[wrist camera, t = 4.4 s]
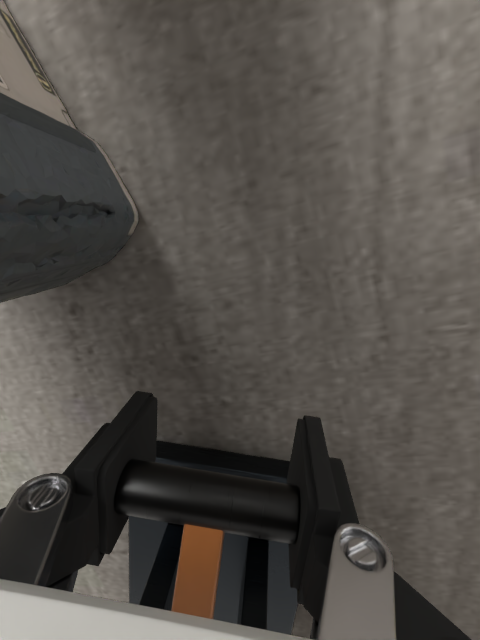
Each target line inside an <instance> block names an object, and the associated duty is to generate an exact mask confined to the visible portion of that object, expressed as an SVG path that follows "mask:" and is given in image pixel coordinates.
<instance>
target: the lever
mask: <svg viewBox="0 0 480 640" xmlns="http://www.w3.org/2000/svg"><path fill="white" fill-rule="evenodd" d="M114 509H115V512H116V513H118V514H122V515H128V516H133V517H139V518H145V519H150V520H156V521H162V522H168V523H173V524H179V525H184V528H183V534H182V541H181V548H180V555H179V562H178V568H177V575H176V582H175V589H174V595H173V602H172V609H171V611H173V612H178V613H183V614H188V615H193V616H198V617H204V618H209V619H213V617H214V609H215V602H216V594H217V587H218V579H219V571H220V564H221V556H222V549H223V541H224V534H225V533H230V534H236V535H242V536H247V537H253V538H259V539H265V540H270V541H276V542H282V543H287V544H295V543H296V541H297V538H298V533H299V526H300V510H301V501H300V490H299V487H298V486H297V485H291V484H285V483H279V482H273V481H267V480H261V479H254V478H248V477H242V476H236V475H230V474H224V473H217V472H211V471H205V470H199V469H193V468H187V467H180V466H174V465H168V464H162V463H156V462H150V461H144V460H137V459H131V460H130V461H128V463H127V464H126V466H125V467H124V469H123V471H122V473H121V476H120V478H119V481H118V484H117V488H116V492H115V499H114Z"/></svg>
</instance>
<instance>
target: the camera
mask: <svg viewBox="0 0 480 640" xmlns="http://www.w3.org/2000/svg"><path fill="white" fill-rule="evenodd" d="M137 224H138V210H137V208H136V205H135V203H134V202H133V200H132V198H131V196H130V195H129V193H128V191H127V189H126V187H125V186H124V184H123V182H122V180H121V179H120V177H119V175H118V173H117V171H116V170H115V168H114V166H113V164H112V163H111V161H110V159H109V158H108V156H107V155H106V153H105V152H104V151H103V149H102V148H101V147H100V145H99V144H98V143H97V142H95V141H94V140H92V139H91V138H89V137H88V136H86V135H85V134H83V133H81V132H80V131H78V130H77V129H76V127H75V126H74V124H73V122H72V121H71V119H70V117H69V116H68V114H67V111H66V109H65V107H64V106H63V104H62V102H61V101H60V99H59V97H58V95H57V94H56V92H55V90H54V89H53V87H52V85H51V83H50V82H49V80H48V78H47V77H46V75H45V73H44V71H43V70H42V68H41V66H40V64H39V62H38V61H37V59H36V57H35V55H34V54H33V52H32V50H31V48H30V47H29V45H28V43H27V42H26V40H25V38H24V37H23V35H22V33H21V31H20V30H19V28H18V26H17V25H16V23H15V21H14V19H13V18H12V16H11V14H10V12H9V11H8V9H7V7H6V5H5V3H4V2H3V0H0V303H1V302H4V301H8V300H11V299H15V298H19V297H22V296H26V295H31V294H35V293H38V292H41V291H44V290H47V289H51V288H54V287H58V286H61V285H64V284H67V283H69V282H71V281H72V280H74V279H76V278H78V277H80V276H82V275H83V274H85V273H87V272H88V271H90V270H92V269H93V268H95V267H98V266H100V265H103V264H105V263H107V262H108V261H110V260H111V259H112V258H113V257H115V256H116V253H117V252H118V251H119V250H120V249H121V248H122V247H123V246H124V245H125V244H126V242H127V241H128V239H129V238H130V237H131V235H132V234H133V232H134V230H135V228H136V226H137Z"/></svg>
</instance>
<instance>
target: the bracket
mask: <svg viewBox="0 0 480 640" xmlns="http://www.w3.org/2000/svg"><path fill="white" fill-rule="evenodd" d="M155 462H156V463H162V464H168V465H174V466H180V467H187V468H193V469H199V470H205V471H211V472H217V473H224V474H230V475H236V476H242V477H248V478H254V479H261V480H267V481H273V482H279V483H285V484H287V476H288V470H289V465H290V461H284V460H277V459H271V458H264V457H258V456H252V455H245V454H239V453H233V452H226V451H220V450H214V449H207V448H201V447H195V446H188V445H182V444H176V443H169V442H163V441H156V460H155ZM183 528H184V525H179V524H173V523H168V522H162V521H156V520H150V519H145V518H139V517H133V516H129V603H132V604H137V605H142V606H147V607H152V608H158V609H163V610H168V611H171V609H172V602H173V595H174V589H175V582H176V575H177V568H178V562H179V555H180V548H181V541H182V534H183ZM297 606H298V603H297V589H295V588H291V587H290V572H289V545H288V544H287V543H282V542H276V541H270V540H265V539H259V538H253V537H247V536H242V535H236V534H230V533H225V534H224V541H223V549H222V556H221V564H220V571H219V579H218V587H217V594H216V602H215V609H214V617H213V619H214V620H219V621H224V622H229V623H234V624H239V625H244V626H249V627H254V628H259V629H264V630H268V631H273V632H278V633H283V634H288V635H291V632H292V628H293V623H294V619H295V614H296V610H297Z"/></svg>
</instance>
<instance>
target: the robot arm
mask: <svg viewBox="0 0 480 640" xmlns="http://www.w3.org/2000/svg"><path fill="white" fill-rule="evenodd" d="M156 439H157V398H155V397H153V394H152V393H148V392H141V391H136V392H135V394H134V395H133V396H132V397H131V399H130V400H129V401H128V402H127V403H126V405H125V406H124V407H123V408H122V410H121V411H120V412H119V413H118V415H117V416H116V417H115V418H114V419H113V421H112V422H111V423H106V424H104V425H103V426H102V427H101V428H100V430H99V431H98V432H97V433H96V434H95V436H94V437H93V438H92V439H91V440H90V441H89V443H88V444H87V445H86V446H85V447H84V449H83V450H82V451H81V452H80V453H79V455H78V456H77V457H76V458H75V459H74V461H73V462H72V463H71V464H70V465H69V467H68V468H67V469H66V470H65V471H64V472H63V474H59V473H50V474H43V475H40V476H37V477H35V478H33V479H31V480H29V481H27V482H25V483H24V484H23V485H22V486H21V487H19V488H18V489H17V491H16V492H15V493H14V495H13V496H12V498H11V500H10V501H9V503H8V505H7V507H5V508H3V509H0V640H471V639H470V638H469V637H468V636H467V635H465V634H464V633H463V632H462V631H461V630H460V629H459V628H458V627H456V626H455V625H454V624H453V623H452V622H451V621H450V620H449V619H447V618H446V617H445V616H444V615H443V614H442V613H441V612H440V611H438V610H437V609H436V608H435V607H434V606H433V605H432V604H431V603H429V602H428V601H427V600H426V599H425V598H424V597H423V596H421V595H420V594H419V593H418V592H417V591H416V590H415V589H414V588H412V587H411V586H410V585H409V584H408V583H407V582H406V581H405V580H403V579H402V578H401V577H400V576H399V575H398V574H397V573H396V572H394V568H393V558H392V553H391V551H390V549H389V547H388V545H387V544H386V543H385V541H384V540H383V539H382V538H381V537H380V536H379V535H378V534H377V533H375V532H374V531H373V530H371V529H369V528H367V527H366V526H363V525H360V524H359V521H358V518H357V514H356V510H355V507H354V503H353V499H352V495H351V492H350V488H349V484H348V481H347V477H346V473H345V470H344V466H343V463H342V460H341V459H336V458H330V457H329V456H328V451H327V447H326V442H325V437H324V433H323V428H322V424H321V419H320V418H318V417H311V416H304V418H303V419H298V421H297V426H296V432H295V437H294V443H293V448H292V454H291V459H290V465H289V470H288V476H287V484H291V485H297V486H298V487H299V490H300V501H301V510H300V526H299V533H298V538H297V541H296V543H295V544H288V545H289V572H290V587H291V588H295V589H297V603H298V604H303V605H304V607H305V608H306V609H307V611H308V612H309V613H310V614H311V616H312V617H313V623H312V629H311V635H310V639H308V638H303V637H298V636H293V635H288V634H283V633H278V632H273V631H268V630H264V629H259V628H254V627H249V626H244V625H239V624H234V623H229V622H224V621H219V620H214V619H209V618H204V617H198V616H193V615H188V614H183V613H178V612H173V611H168V610H163V609H158V608H152V607H147V606H142V605H137V604H132V603H127V602H122V601H116V600H111V599H106V598H101V597H95V596H90V595H85V594H79V593H74V592H73V588H74V585H75V581H76V577H77V573H78V570H79V569H80V568H82V567H84V566H86V564H90V565H95V566H99V564H100V562H101V560H102V558H103V556H104V554H110V553H111V552H112V550H113V548H114V546H115V544H116V542H117V540H118V538H119V536H120V534H121V532H122V530H123V528H124V526H125V524H126V522H127V520H128V518H129V516H128V515H122V514H118V513H116V512H115V509H114V499H115V492H116V488H117V484H118V481H119V478H120V476H121V473H122V471H123V469H124V467H125V466H126V464H127V463H128V461H130V460H131V459H137V460H144V461H150V462H155V460H156Z"/></svg>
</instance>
